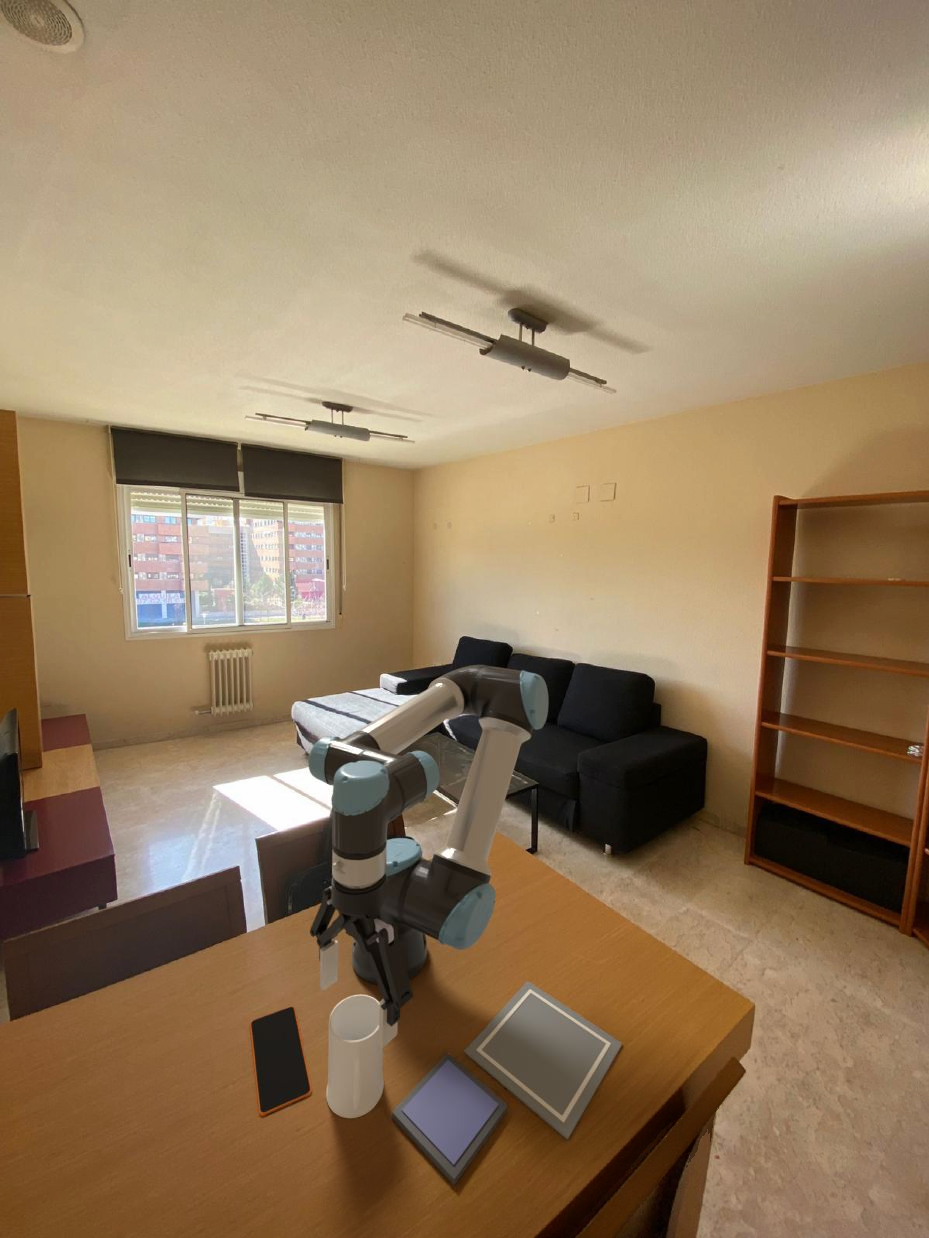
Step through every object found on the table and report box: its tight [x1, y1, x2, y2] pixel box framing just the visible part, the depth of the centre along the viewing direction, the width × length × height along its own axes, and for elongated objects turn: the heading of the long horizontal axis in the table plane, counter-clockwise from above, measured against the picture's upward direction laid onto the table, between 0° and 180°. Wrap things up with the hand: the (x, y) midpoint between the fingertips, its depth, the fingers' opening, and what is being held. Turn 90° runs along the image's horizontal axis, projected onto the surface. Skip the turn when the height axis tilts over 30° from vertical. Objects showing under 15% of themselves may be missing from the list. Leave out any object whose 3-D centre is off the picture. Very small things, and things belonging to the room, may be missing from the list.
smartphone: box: [249, 1005, 313, 1118], centre depth 81 cm, size 8×17×1 cm, turn 28°
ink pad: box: [391, 1052, 509, 1186], centre depth 73 cm, size 12×12×1 cm
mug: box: [325, 994, 385, 1119], centre depth 74 cm, size 12×8×12 cm
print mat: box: [463, 980, 623, 1141], centre depth 84 cm, size 19×19×1 cm
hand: (356, 1010), depth 73 cm, fingers open, 13 cm apart
